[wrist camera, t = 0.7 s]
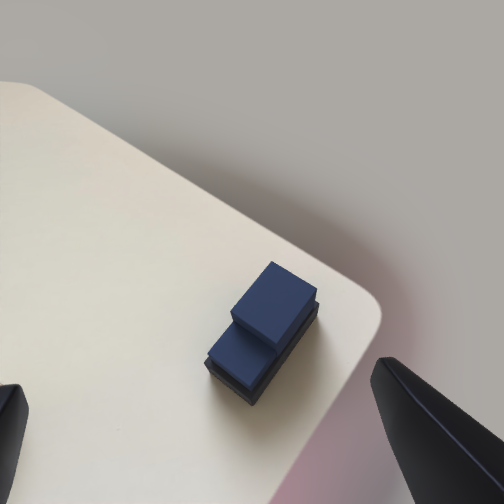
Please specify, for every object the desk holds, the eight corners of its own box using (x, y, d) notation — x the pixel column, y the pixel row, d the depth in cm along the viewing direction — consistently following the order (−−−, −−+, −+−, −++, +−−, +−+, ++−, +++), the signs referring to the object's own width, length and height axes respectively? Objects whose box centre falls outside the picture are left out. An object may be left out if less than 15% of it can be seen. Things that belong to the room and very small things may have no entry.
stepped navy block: (274, 287, 33) (273, 254, 28) (317, 314, 31) (323, 284, 26) (208, 371, 29) (194, 349, 25) (252, 406, 28) (246, 390, 23)
